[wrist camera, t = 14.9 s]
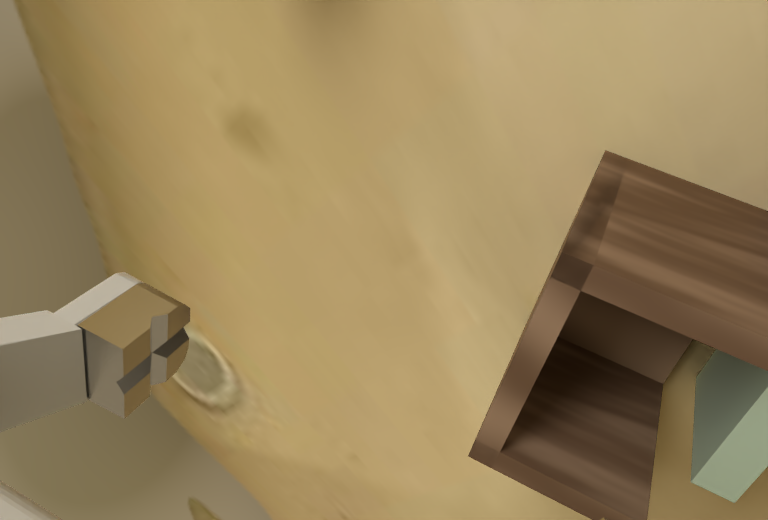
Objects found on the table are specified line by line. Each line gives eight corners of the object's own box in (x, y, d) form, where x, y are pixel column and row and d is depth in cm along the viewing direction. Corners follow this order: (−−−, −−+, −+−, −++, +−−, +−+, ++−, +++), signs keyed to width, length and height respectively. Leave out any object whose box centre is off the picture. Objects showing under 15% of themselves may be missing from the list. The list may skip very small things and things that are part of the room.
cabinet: (618, 121, 40) (578, 215, 28) (910, 227, 36) (993, 382, 25) (525, 326, 49) (468, 456, 38) (746, 426, 46) (754, 602, 35)
